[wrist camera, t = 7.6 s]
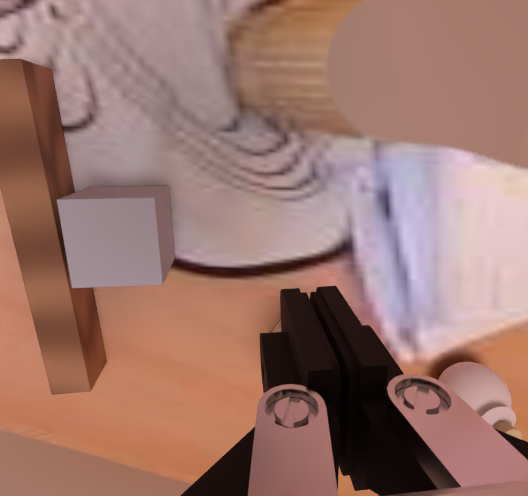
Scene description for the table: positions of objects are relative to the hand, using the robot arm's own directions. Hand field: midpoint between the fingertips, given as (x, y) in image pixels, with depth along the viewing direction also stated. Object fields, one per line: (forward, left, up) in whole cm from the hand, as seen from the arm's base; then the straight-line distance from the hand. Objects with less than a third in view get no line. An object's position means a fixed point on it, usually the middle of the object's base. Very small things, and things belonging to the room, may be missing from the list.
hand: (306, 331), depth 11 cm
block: (+1, -10, -20) cm, 23 cm away
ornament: (+18, +18, -20) cm, 33 cm away
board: (+1, -16, -20) cm, 26 cm away
